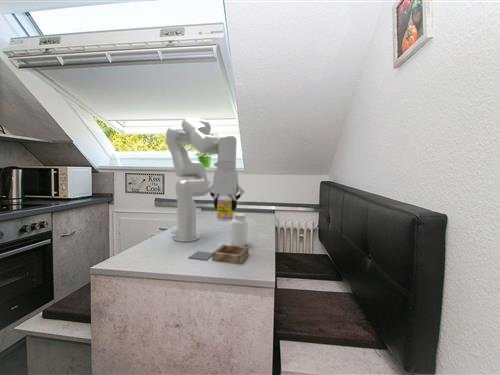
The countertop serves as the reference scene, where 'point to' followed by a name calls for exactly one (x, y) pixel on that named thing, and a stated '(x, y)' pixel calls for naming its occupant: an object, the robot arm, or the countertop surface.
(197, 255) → the mat
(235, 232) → the pill bottle
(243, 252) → the block
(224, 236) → the countertop surface
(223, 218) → the supplement bottle
